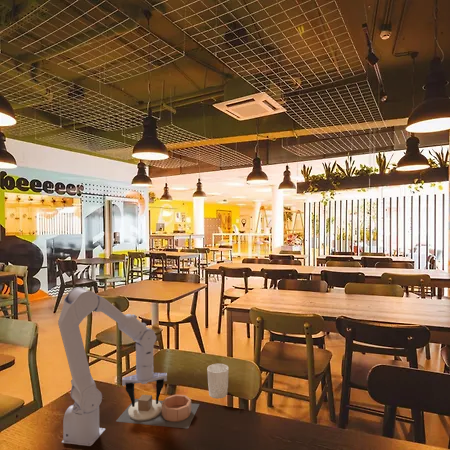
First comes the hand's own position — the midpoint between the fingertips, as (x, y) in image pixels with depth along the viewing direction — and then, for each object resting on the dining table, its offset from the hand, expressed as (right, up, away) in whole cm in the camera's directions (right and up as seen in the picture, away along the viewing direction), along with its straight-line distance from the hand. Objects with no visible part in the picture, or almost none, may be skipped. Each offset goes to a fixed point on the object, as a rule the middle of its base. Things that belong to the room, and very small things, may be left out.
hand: (145, 403), depth 110 cm
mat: (+5, -3, -1) cm, 6 cm away
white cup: (+24, -3, +11) cm, 27 cm away
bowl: (+11, -2, -2) cm, 11 cm away
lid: (0, -2, 0) cm, 2 cm away
